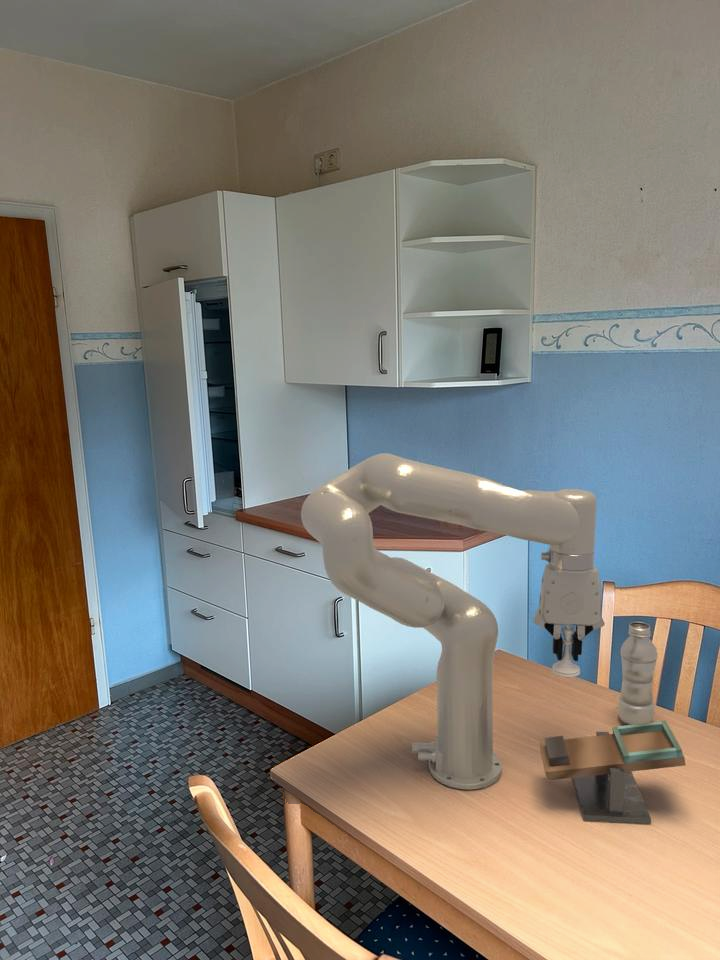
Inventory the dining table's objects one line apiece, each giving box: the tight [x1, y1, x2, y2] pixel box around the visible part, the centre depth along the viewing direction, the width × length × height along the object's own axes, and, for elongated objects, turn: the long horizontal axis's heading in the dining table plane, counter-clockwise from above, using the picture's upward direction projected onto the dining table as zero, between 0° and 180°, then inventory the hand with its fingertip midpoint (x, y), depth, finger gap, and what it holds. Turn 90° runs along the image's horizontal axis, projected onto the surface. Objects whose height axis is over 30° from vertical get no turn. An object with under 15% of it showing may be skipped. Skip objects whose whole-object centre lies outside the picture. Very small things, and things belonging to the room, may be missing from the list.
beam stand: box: [571, 731, 652, 825], centre depth 117 cm, size 10×13×8 cm
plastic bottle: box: [617, 621, 658, 725], centre depth 138 cm, size 6×7×20 cm
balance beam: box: [538, 720, 686, 782], centre depth 116 cm, size 21×9×4 cm, turn 83°
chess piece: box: [551, 625, 581, 678], centre depth 130 cm, size 5×5×10 cm
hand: (566, 656), depth 130 cm, fingers closed on chess piece
